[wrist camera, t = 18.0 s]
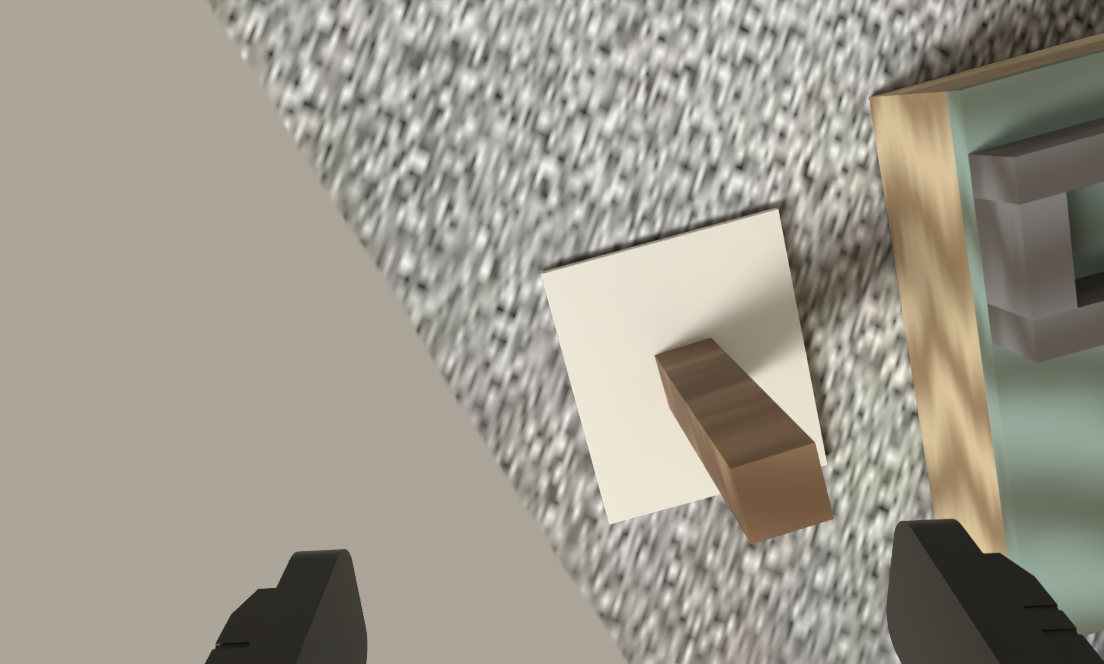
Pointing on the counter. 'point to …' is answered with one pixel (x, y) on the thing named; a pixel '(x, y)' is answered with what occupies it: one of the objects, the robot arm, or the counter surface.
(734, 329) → the mat
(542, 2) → the counter surface
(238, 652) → the robot arm
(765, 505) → the walnut key
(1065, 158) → the wooden socket fixture
